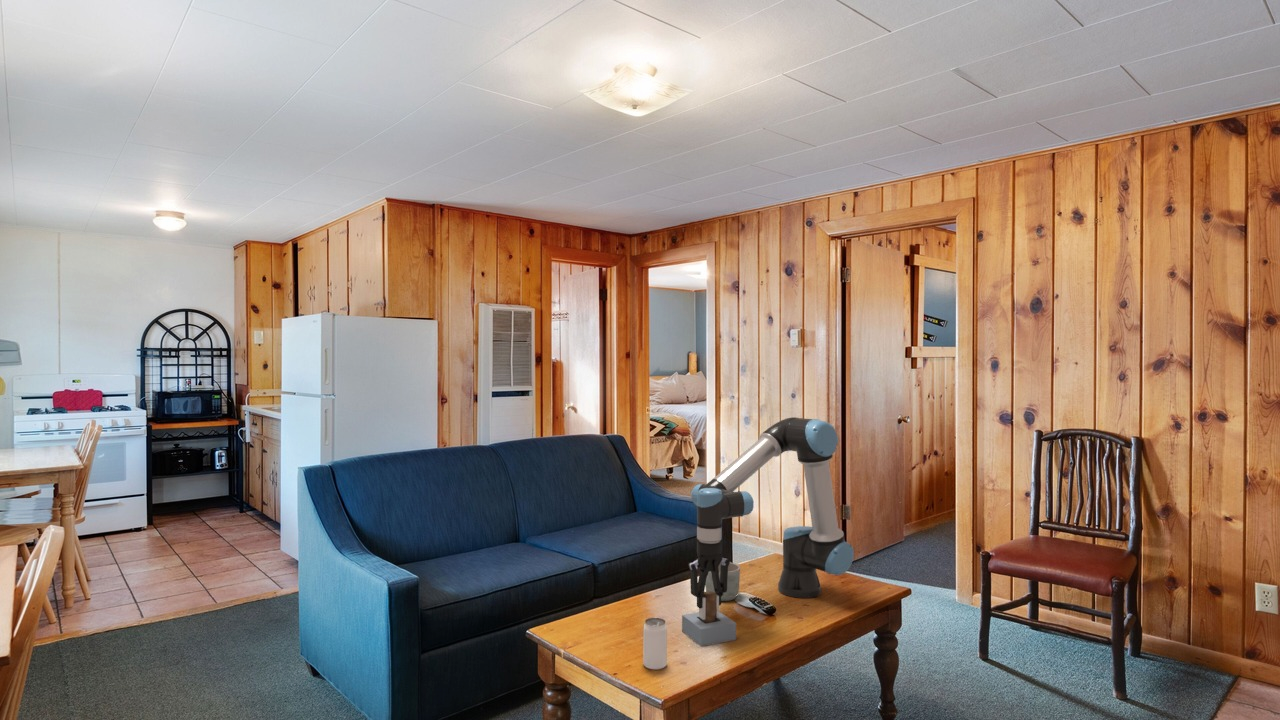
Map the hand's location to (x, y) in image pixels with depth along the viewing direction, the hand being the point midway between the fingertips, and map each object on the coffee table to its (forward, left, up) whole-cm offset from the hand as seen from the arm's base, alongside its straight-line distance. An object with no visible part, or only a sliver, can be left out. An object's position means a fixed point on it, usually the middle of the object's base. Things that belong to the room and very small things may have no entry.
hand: (708, 616), depth 208 cm
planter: (-21, -27, -6) cm, 35 cm away
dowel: (0, 0, -5) cm, 5 cm away
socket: (0, 0, -6) cm, 6 cm away
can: (+24, +12, -6) cm, 27 cm away
